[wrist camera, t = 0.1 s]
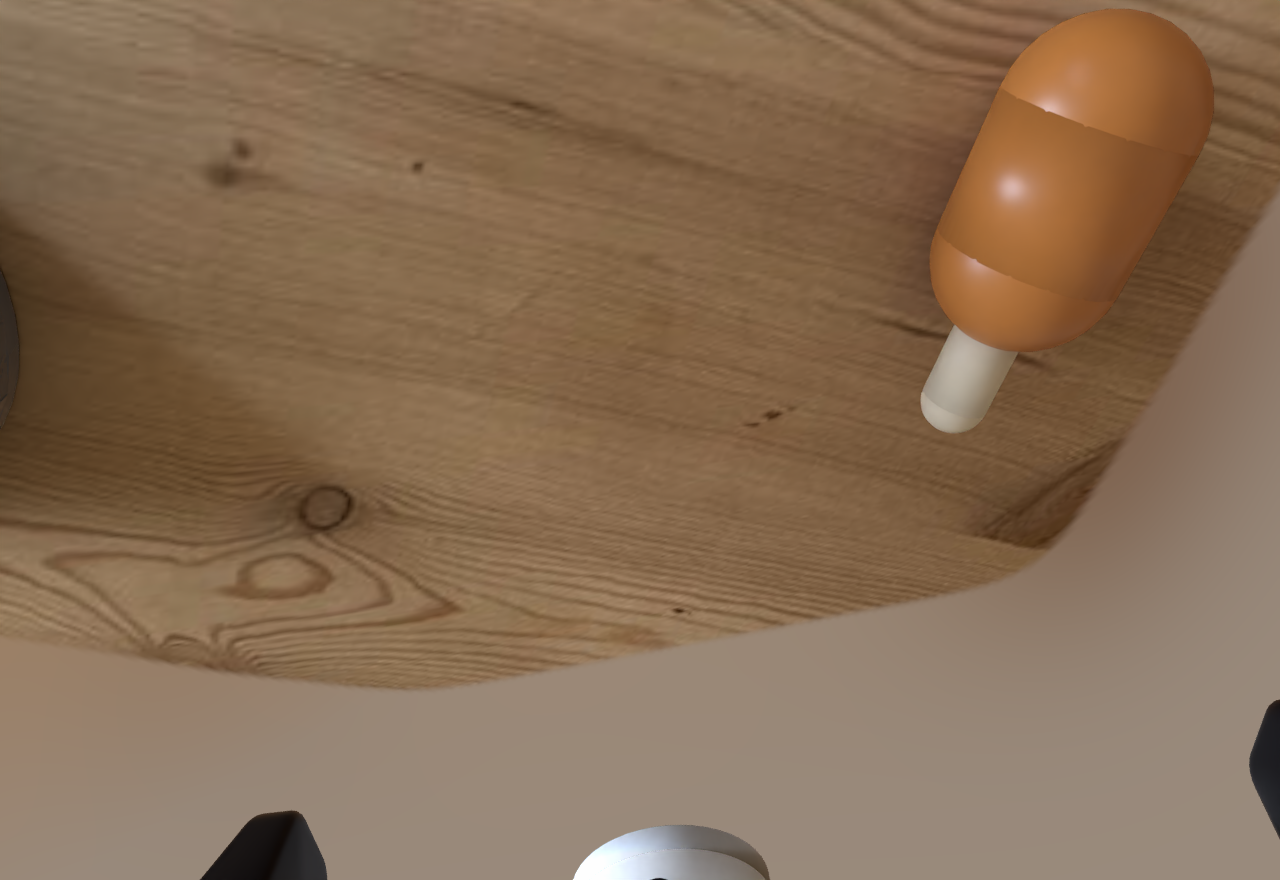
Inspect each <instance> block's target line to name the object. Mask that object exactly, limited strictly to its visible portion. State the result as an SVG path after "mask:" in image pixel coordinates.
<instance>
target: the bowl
mask: <svg viewBox="0 0 1280 880" xmlns="http://www.w3.org/2000/svg"><path fill="white" fill-rule="evenodd" d="M18 373H19V340H18V332H17V325H16V317H15V313H14V309H13V306H12V302H11V299H10V295H9V292H8V288H7V285H6V282H5V280H4V277H3V275H2V273H1V270H0V429H1V427H2V426H3V424H4V421H5V419H6V417H7V414H8V412H9V409H10V407H11V405H12V402H13V399H14V394H15V389H16V384H17V379H18Z"/></svg>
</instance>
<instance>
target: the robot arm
mask: <svg viewBox="0 0 1280 880" xmlns="http://www.w3.org/2000/svg"><path fill="white" fill-rule="evenodd" d="M1249 763H1250V764H1249V767H1250V774H1251V777H1252V781H1253V783H1254V786H1255V788H1256V790H1257V793H1258V795H1259V796H1260V799H1261V801H1262V803H1263V805H1264V807H1265V809H1266V811H1267V813H1268V815H1269V818H1270V820H1271V822H1272V824H1273V826H1274V828H1275V830H1276V832H1277V834H1278V837H1279V839H1280V700H1276V701H1274V702H1273V703H1272V704H1271V705H1269V707H1268V709H1267V710H1266V713H1265V716H1264V718H1263V721H1262V724H1261V727H1260V730H1259V732H1258V735H1257V738H1256V740H1255V743H1254V746H1253V749H1252V751H1251V754H1250V762H1249ZM200 880H327V873H326V866H325V862H324V859H323V857H322V855H321V853H320V851H319V848H318V846H317V844H316V842H315V840H314V838H313V835H312V833H311V831H310V829H309V827H308V825H307V822H306V820H305V819H304V817H303V815H302V814H300V813H299V812H297V811H283V812H274V813H265V814H261V815H257V816H256V817H254V818H252V819H251V820H250V821H249V822H248V823H247V824H246V825H245V826H244V827H243V828H242V829H241V831H240V832H239V833H238V835H237V836H236V837H235V838H234V839H233V841H232V842H231V843H230V844H229V845H228V847H227V848H226V849H225V850H224V851H223V853H222V854H221V855H220V857H218V859H217V860H216V861H215V862H214V864H213V865H212V866H211V867H210V869H209V870H208V871H207V872H206V873H205V875H204V876H203V877H202V878H201V879H200ZM651 880H667V879H663V878H655V879H651Z"/></svg>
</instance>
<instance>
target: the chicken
mask: <svg viewBox="0 0 1280 880" xmlns="http://www.w3.org/2000/svg"><path fill="white" fill-rule="evenodd" d="M1213 113H1214V88H1213V83H1212V79H1211V74H1210V70H1209V68H1208V65H1207V63H1206V61H1205V59H1204V57H1203V55H1202V53H1201V51H1200V50H1199V48H1198V47H1197V46H1196V45H1195V43H1194V42H1193V41H1192V40H1191V39H1190V37H1189V36H1188V35H1187V34H1186V33H1184V32H1183V31H1182V30H1180V29H1179V28H1178V27H1176V26H1175V25H1174V24H1172V23H1171V22H1169V21H1167V20H1165V19H1163V18H1160V17H1158V16H1156V15H1154V14H1151V13H1147V12H1142V11H1137V10H1132V9H1104V10H1099V11H1094V12H1089V13H1084V14H1081V15H1079V16H1076V17H1074V18H1071V19H1069V20H1066V21H1063V22H1061V23H1060V24H1058V25H1056V26H1055V27H1053V28H1052V29H1050V30H1048V31H1047V32H1045V33H1043V34H1042V35H1041V36H1040V37H1039V38H1037V39H1036V40H1035V41H1034V42H1033V43H1032V44H1030V45H1029V46H1028V47H1027V48H1026V49H1025V50H1024V51H1023V52H1022V54H1021V55H1020V56H1019V57H1018V58H1017V60H1016V61H1015V62H1014V63H1013V65H1012V66H1011V67H1010V69H1009V71H1008V73H1007V74H1006V76H1005V78H1004V80H1003V82H1002V83H1001V85H1000V87H999V89H998V92H997V94H996V96H995V98H994V101H993V103H992V105H991V107H990V110H989V112H988V114H987V116H986V119H985V121H984V123H983V125H982V127H981V130H980V132H979V134H978V136H977V139H976V141H975V143H974V145H973V148H972V150H971V152H970V154H969V157H968V159H967V161H966V163H965V165H964V168H963V170H962V172H961V174H960V177H959V179H958V181H957V183H956V186H955V188H954V190H953V192H952V195H951V197H950V199H949V201H948V203H947V206H946V208H945V210H944V212H943V215H942V217H941V219H940V221H939V224H938V226H937V229H936V232H935V235H934V238H933V241H932V244H931V251H930V260H929V263H930V275H931V283H932V286H933V290H934V293H935V296H936V299H937V301H938V302H939V304H940V306H941V307H942V309H943V311H944V312H945V314H946V316H947V317H948V318H949V319H950V320H951V321H952V322H953V323H954V326H953V328H952V330H951V332H950V334H949V336H948V338H947V340H946V342H945V344H944V346H943V348H942V350H941V353H940V355H939V357H938V359H937V361H936V363H935V365H934V367H933V369H932V371H931V373H930V375H929V377H928V379H927V381H926V384H925V386H924V388H923V391H922V393H921V409H922V412H923V415H924V416H925V418H926V419H927V421H928V422H929V423H930V424H931V425H932V426H933V427H935V428H936V429H938V430H940V431H943V432H947V433H961V432H965V431H968V430H970V429H972V428H973V427H975V426H976V425H977V424H978V423H979V422H980V421H982V419H983V418H984V416H985V414H986V413H987V411H988V409H989V407H990V405H991V403H992V401H993V399H994V397H995V396H996V394H997V392H998V390H999V388H1000V386H1001V384H1002V382H1003V380H1004V379H1005V377H1006V375H1007V373H1008V371H1009V369H1010V367H1011V365H1012V364H1013V362H1014V360H1015V358H1016V356H1017V354H1018V352H1033V351H1039V350H1044V349H1050V348H1053V347H1056V346H1059V345H1061V344H1064V343H1066V342H1069V341H1072V340H1074V339H1075V338H1077V337H1078V336H1080V335H1081V334H1083V333H1085V332H1086V331H1088V330H1089V329H1090V328H1091V327H1092V326H1093V325H1094V324H1096V323H1097V322H1098V321H1099V320H1100V319H1101V318H1102V317H1103V316H1104V315H1105V314H1106V313H1107V312H1108V310H1109V309H1110V308H1111V306H1112V305H1113V303H1114V302H1115V301H1116V299H1117V298H1118V296H1119V294H1120V293H1121V291H1122V289H1123V287H1124V286H1125V284H1126V282H1127V280H1128V279H1129V277H1130V275H1131V273H1132V272H1133V270H1134V268H1135V266H1136V265H1137V263H1138V261H1139V259H1140V258H1141V256H1142V254H1143V252H1144V251H1145V249H1146V247H1147V245H1148V244H1149V242H1150V240H1151V238H1152V237H1153V235H1154V233H1155V231H1156V230H1157V228H1158V226H1159V224H1160V223H1161V221H1162V219H1163V217H1164V216H1165V214H1166V212H1167V210H1168V209H1169V207H1170V205H1171V203H1172V202H1173V200H1174V198H1175V196H1176V195H1177V193H1178V191H1179V189H1180V188H1181V186H1182V184H1183V182H1184V181H1185V179H1186V177H1187V175H1188V174H1189V172H1190V170H1191V168H1192V167H1193V165H1194V163H1195V161H1196V160H1197V158H1198V156H1199V154H1200V152H1201V150H1202V148H1203V146H1204V143H1205V141H1206V139H1207V137H1208V135H1209V131H1210V126H1211V122H1212V118H1213Z"/></svg>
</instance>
